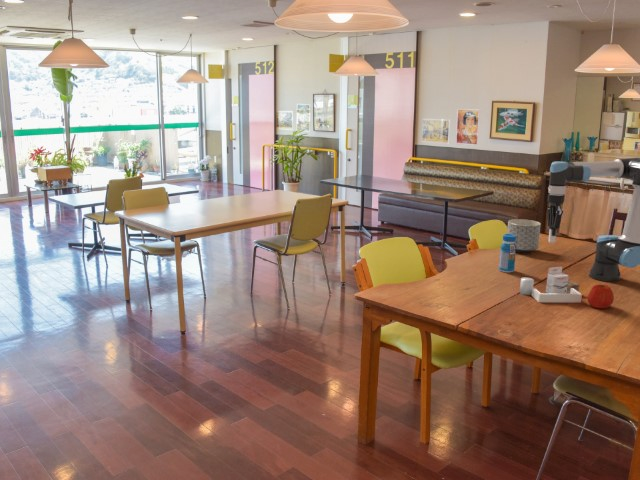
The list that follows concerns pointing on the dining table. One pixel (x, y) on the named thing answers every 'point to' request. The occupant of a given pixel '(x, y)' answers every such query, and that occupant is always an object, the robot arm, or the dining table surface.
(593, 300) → the apple
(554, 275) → the ink box
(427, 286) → the dining table surface
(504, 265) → the beverage bottle
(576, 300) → the display bracket
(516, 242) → the planter
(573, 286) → the grey-brown cube
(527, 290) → the glossy white capsule
